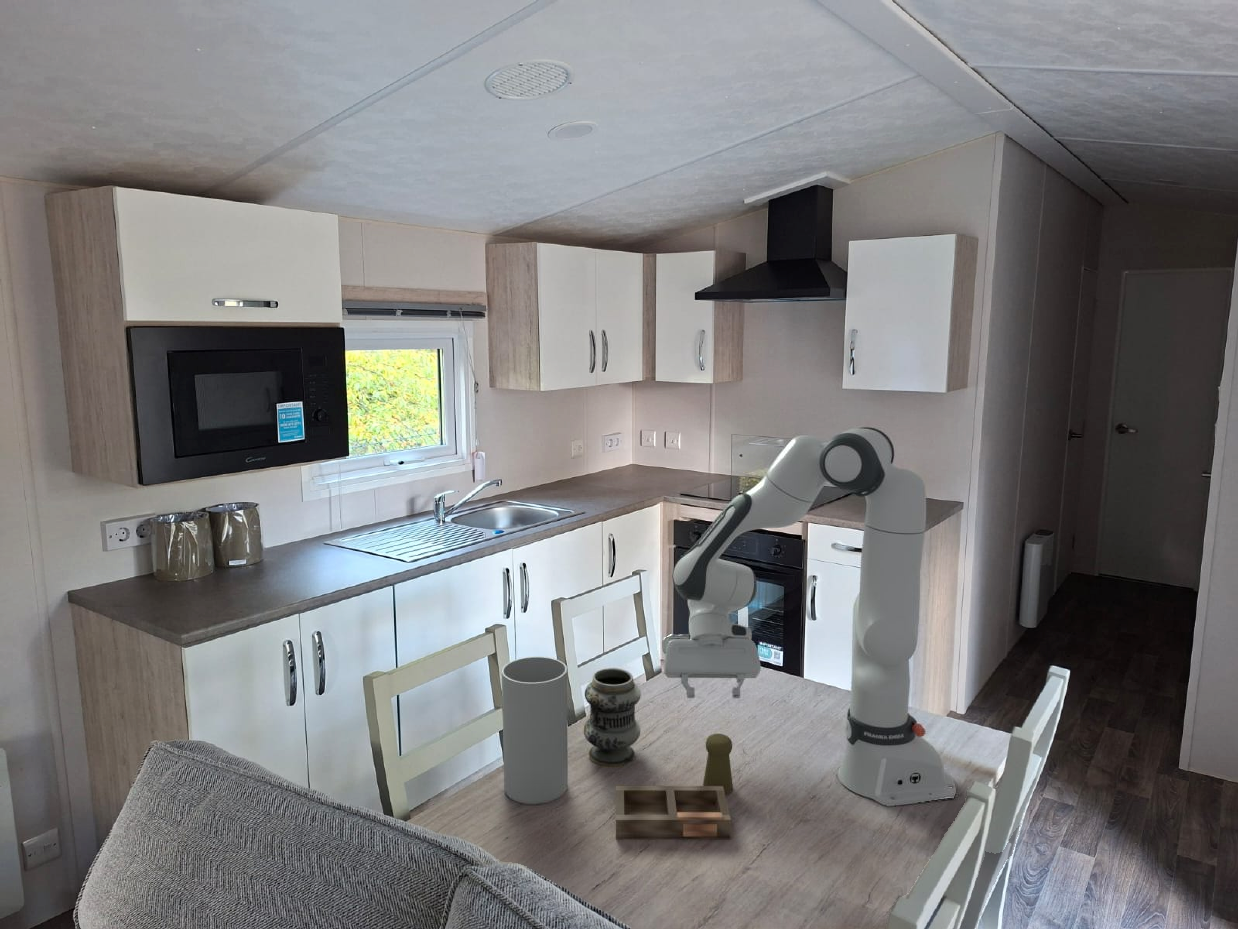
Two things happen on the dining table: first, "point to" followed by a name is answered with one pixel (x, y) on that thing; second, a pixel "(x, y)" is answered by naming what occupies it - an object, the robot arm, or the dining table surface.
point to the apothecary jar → (612, 717)
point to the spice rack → (672, 812)
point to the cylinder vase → (535, 729)
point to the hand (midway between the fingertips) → (713, 697)
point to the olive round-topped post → (718, 762)
